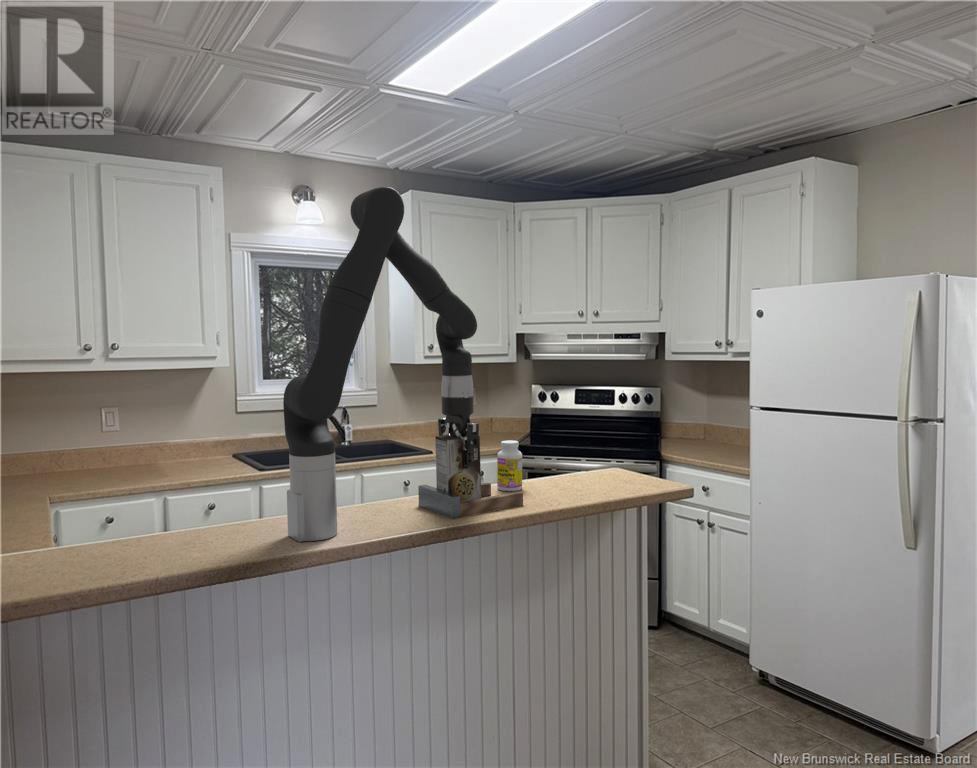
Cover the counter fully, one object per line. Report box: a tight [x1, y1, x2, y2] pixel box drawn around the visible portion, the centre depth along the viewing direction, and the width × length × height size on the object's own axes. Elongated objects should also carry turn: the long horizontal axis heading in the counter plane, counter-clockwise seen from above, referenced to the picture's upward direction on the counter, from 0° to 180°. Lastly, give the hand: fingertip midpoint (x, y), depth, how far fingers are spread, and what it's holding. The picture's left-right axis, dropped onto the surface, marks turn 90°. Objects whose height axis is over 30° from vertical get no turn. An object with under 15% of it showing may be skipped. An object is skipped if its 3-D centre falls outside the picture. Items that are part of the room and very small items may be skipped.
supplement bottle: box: [496, 439, 523, 492], centre depth 183 cm, size 7×7×13 cm
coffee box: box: [434, 434, 482, 502], centre depth 163 cm, size 9×6×16 cm
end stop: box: [417, 484, 462, 520], centre depth 160 cm, size 2×15×5 cm, turn 37°
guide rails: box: [460, 482, 524, 518], centre depth 166 cm, size 18×15×3 cm
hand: (458, 463), depth 163 cm, fingers closed on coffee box, 6 cm apart
